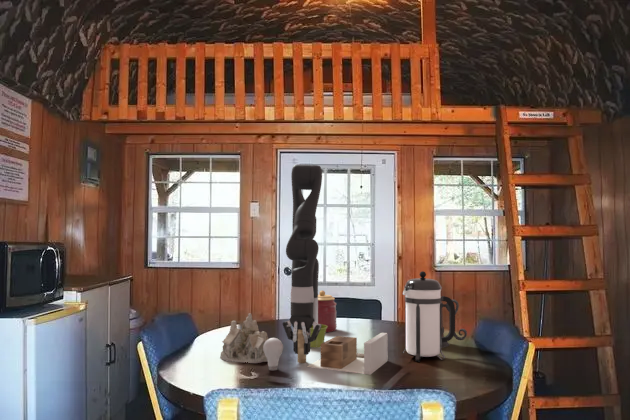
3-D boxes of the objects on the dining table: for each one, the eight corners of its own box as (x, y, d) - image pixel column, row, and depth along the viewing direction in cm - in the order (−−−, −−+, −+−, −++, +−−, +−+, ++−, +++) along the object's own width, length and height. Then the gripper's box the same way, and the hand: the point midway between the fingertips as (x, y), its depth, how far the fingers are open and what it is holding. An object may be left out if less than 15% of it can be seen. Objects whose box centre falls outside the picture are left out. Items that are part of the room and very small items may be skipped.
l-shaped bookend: (306, 371, 162) (306, 337, 162) (328, 358, 178) (328, 328, 179) (370, 379, 153) (370, 343, 154) (387, 365, 170) (387, 333, 170)
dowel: (296, 366, 167) (296, 329, 168) (299, 365, 170) (299, 328, 170) (303, 367, 166) (303, 330, 166) (307, 365, 168) (307, 328, 169)
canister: (341, 329, 233) (342, 290, 234) (327, 334, 222) (327, 292, 223) (317, 326, 240) (317, 288, 241) (302, 330, 229) (302, 290, 230)
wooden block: (357, 363, 175) (355, 357, 174) (359, 357, 177) (358, 351, 176) (385, 366, 171) (384, 360, 170) (387, 360, 173) (386, 354, 172)
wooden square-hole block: (320, 366, 162) (320, 343, 162) (337, 356, 175) (337, 335, 175) (341, 369, 159) (341, 346, 159) (356, 359, 172) (356, 337, 172)
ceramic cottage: (216, 355, 182) (219, 312, 182) (261, 352, 189) (263, 311, 189) (228, 368, 168) (231, 322, 168) (275, 365, 175) (278, 321, 175)
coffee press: (440, 365, 170) (439, 273, 171) (394, 359, 178) (394, 271, 180) (455, 355, 184) (455, 270, 186) (413, 349, 193) (413, 268, 194)
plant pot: (330, 348, 195) (330, 324, 195) (322, 353, 186) (322, 329, 187) (307, 346, 198) (307, 323, 199) (298, 351, 189) (298, 327, 190)
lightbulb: (263, 371, 161) (263, 336, 162) (282, 371, 162) (282, 335, 162) (262, 377, 155) (263, 340, 156) (283, 376, 156) (283, 339, 156)
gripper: (277, 300, 168) (277, 354, 167) (317, 302, 162) (316, 358, 162) (288, 297, 175) (287, 349, 174) (326, 300, 169) (326, 353, 169)
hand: (301, 353), depth 168 cm, fingers closed on dowel, 2 cm apart
